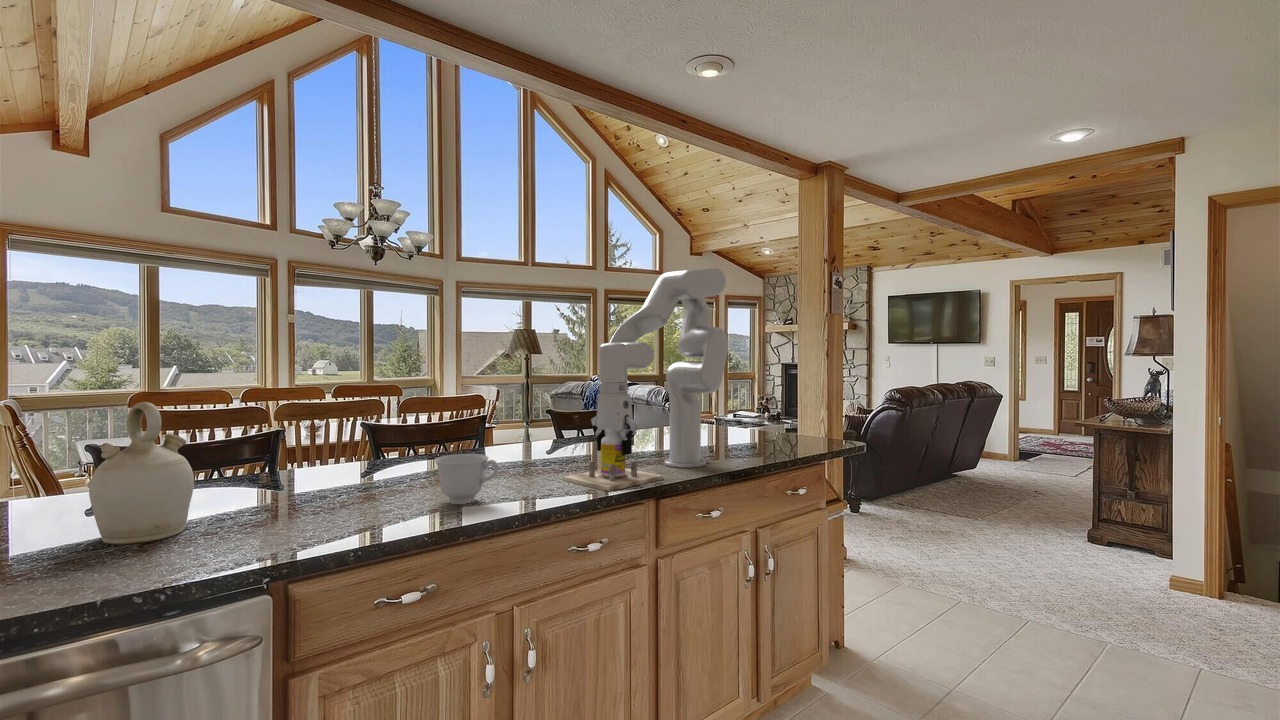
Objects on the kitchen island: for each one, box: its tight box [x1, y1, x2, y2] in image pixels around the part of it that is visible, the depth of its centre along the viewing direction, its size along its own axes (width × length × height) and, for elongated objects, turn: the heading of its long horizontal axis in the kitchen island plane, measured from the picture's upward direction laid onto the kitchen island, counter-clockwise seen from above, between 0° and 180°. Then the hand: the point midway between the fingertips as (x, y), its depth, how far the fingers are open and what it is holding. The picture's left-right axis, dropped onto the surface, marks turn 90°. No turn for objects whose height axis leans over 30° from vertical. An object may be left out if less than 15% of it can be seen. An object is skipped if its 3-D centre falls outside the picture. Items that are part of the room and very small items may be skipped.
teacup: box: [433, 453, 499, 505], centre depth 142 cm, size 12×15×10 cm
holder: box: [562, 460, 664, 492], centre depth 166 cm, size 20×18×5 cm
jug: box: [88, 401, 195, 545], centre depth 116 cm, size 15×16×25 cm
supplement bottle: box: [600, 428, 627, 477], centre depth 166 cm, size 7×7×13 cm
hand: (614, 452), depth 166 cm, fingers open, 9 cm apart
